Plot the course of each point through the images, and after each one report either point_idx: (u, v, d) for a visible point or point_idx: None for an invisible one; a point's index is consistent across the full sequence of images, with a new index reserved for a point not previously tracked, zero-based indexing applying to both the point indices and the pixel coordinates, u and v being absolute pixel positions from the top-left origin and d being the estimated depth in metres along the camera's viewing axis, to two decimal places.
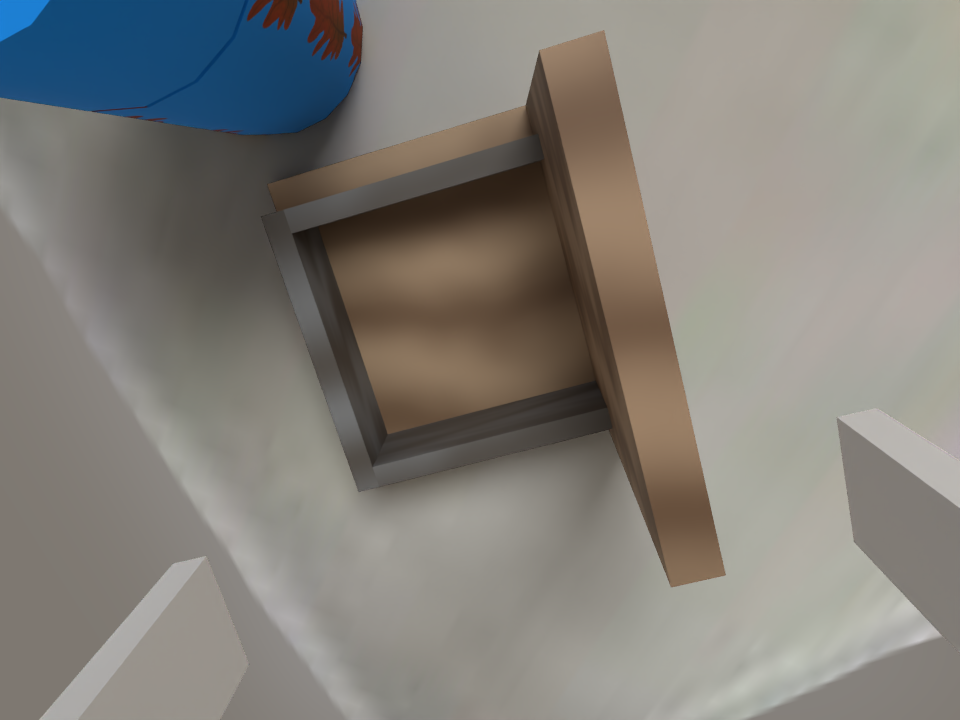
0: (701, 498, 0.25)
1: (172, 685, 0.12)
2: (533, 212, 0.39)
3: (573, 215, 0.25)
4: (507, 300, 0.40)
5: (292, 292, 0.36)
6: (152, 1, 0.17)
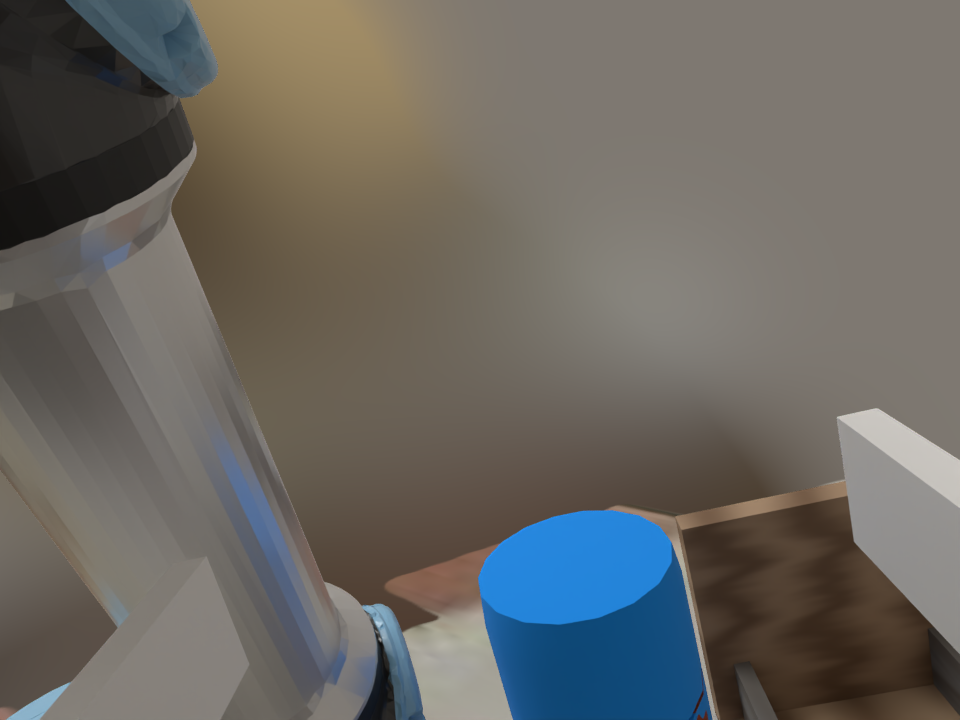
0: None
1: (172, 685, 0.12)
2: (798, 719, 0.53)
3: (760, 548, 0.50)
4: None
5: None
6: None
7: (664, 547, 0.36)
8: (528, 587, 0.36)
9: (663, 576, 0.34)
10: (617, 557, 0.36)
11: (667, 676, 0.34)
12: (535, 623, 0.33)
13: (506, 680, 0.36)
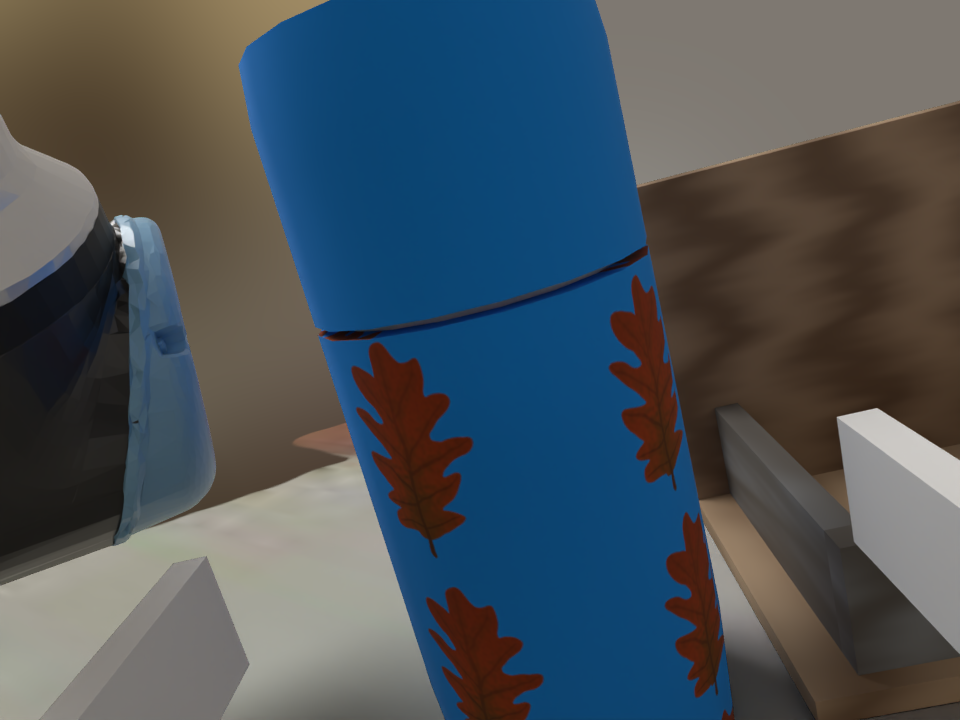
0: (949, 103, 0.34)
1: (172, 685, 0.12)
2: None
3: (752, 216, 0.34)
4: None
5: None
6: None
7: None
8: None
9: None
10: None
11: (568, 150, 0.17)
12: (301, 17, 0.17)
13: (288, 225, 0.20)
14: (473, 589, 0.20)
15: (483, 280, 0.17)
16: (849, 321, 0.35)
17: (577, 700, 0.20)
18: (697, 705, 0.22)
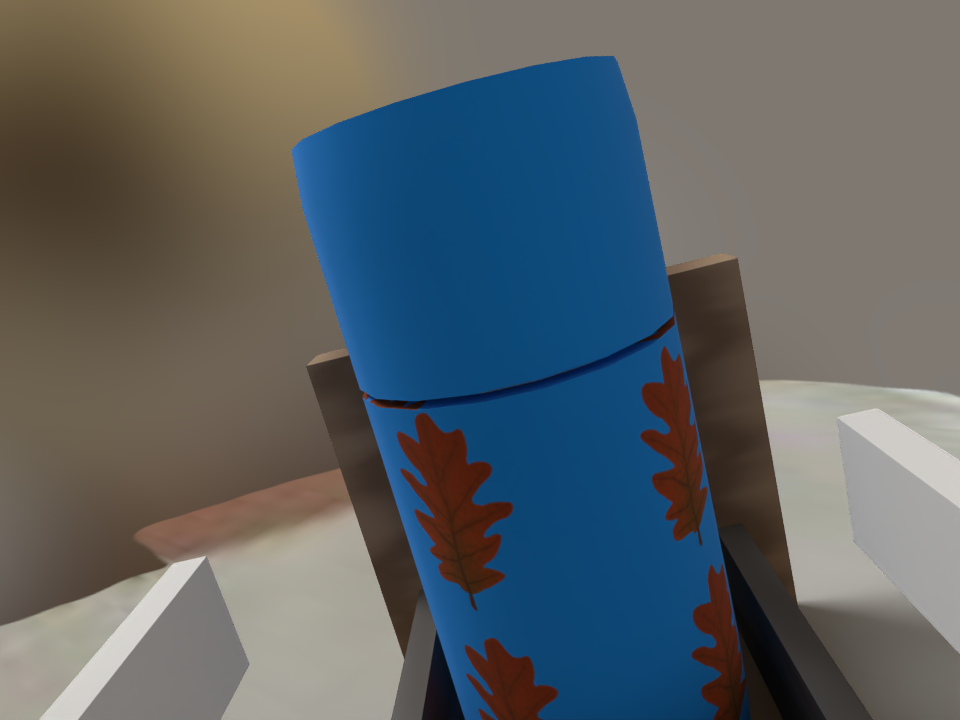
0: None
1: (172, 685, 0.12)
2: None
3: None
4: None
5: None
6: None
7: None
8: None
9: (595, 57, 0.19)
10: None
11: (604, 237, 0.19)
12: (357, 119, 0.18)
13: (337, 298, 0.21)
14: (511, 640, 0.21)
15: (525, 359, 0.19)
16: None
17: None
18: None
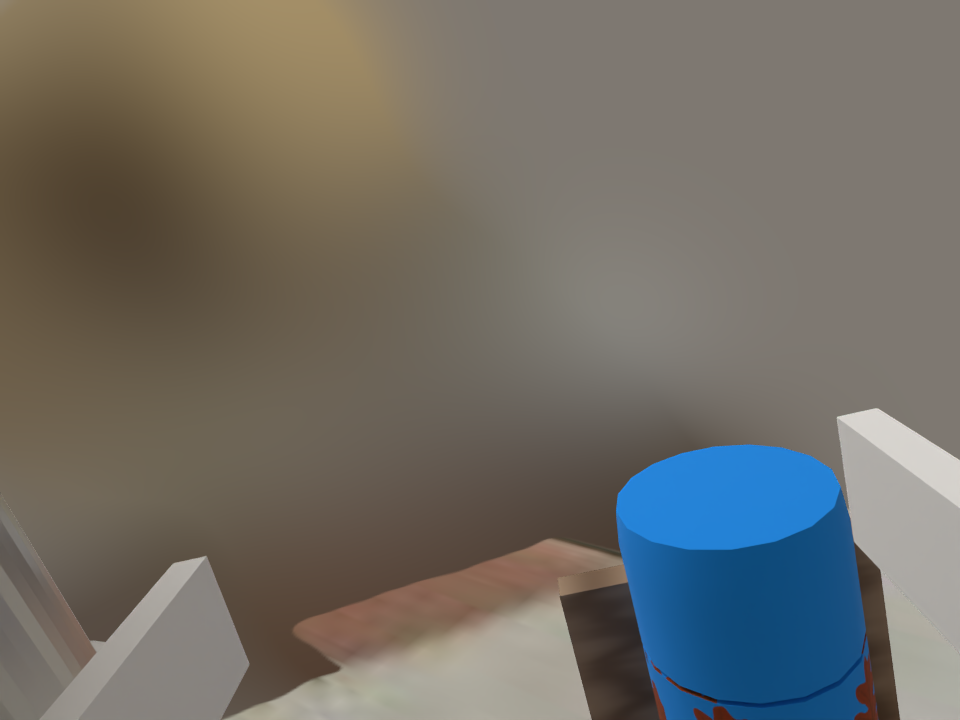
0: None
1: (172, 685, 0.12)
2: None
3: None
4: None
5: None
6: None
7: (825, 474, 0.33)
8: (680, 517, 0.33)
9: (836, 500, 0.31)
10: (772, 485, 0.33)
11: (841, 610, 0.31)
12: (701, 550, 0.30)
13: (653, 620, 0.33)
14: None
15: (795, 686, 0.31)
16: None
17: None
18: None
